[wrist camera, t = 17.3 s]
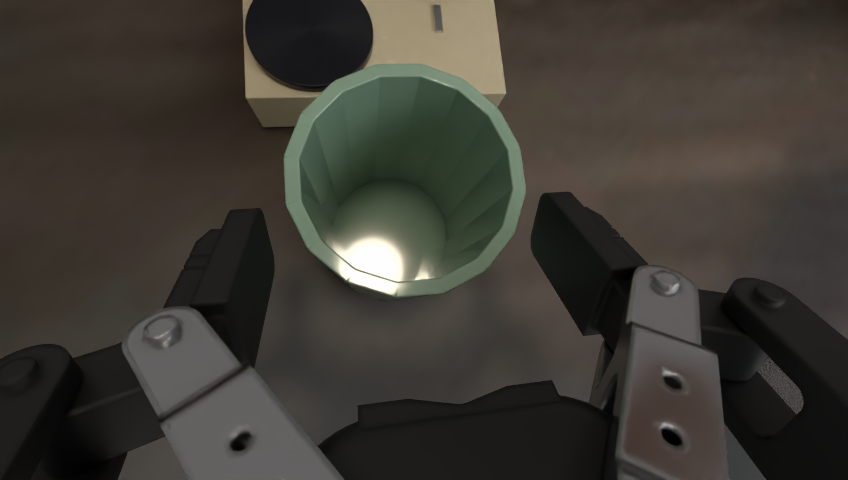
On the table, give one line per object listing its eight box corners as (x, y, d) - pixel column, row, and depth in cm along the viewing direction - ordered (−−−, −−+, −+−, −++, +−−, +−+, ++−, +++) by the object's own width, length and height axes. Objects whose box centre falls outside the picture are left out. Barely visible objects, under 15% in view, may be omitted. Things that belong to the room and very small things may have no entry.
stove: (486, -63, 24) (503, -117, 21) (510, 120, 22) (533, 91, 19) (255, -73, 22) (236, -135, 19) (262, 127, 20) (243, 96, 17)
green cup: (444, 173, 21) (509, 62, 11) (457, 293, 20) (539, 284, 11) (321, 179, 20) (278, 63, 10) (329, 305, 19) (289, 307, 10)
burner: (368, -17, 19) (368, -26, 19) (377, 91, 18) (377, 85, 18) (245, -20, 18) (242, -29, 18) (249, 93, 17) (246, 87, 17)
